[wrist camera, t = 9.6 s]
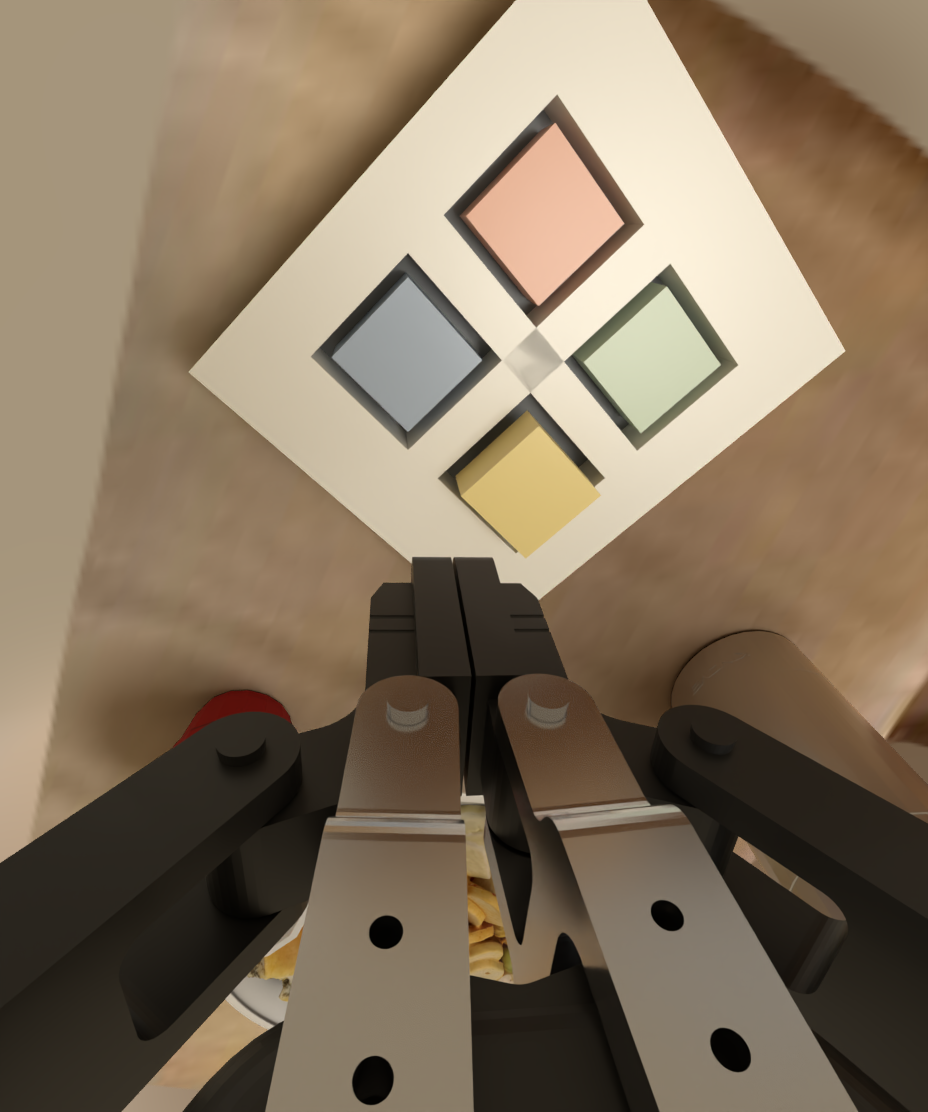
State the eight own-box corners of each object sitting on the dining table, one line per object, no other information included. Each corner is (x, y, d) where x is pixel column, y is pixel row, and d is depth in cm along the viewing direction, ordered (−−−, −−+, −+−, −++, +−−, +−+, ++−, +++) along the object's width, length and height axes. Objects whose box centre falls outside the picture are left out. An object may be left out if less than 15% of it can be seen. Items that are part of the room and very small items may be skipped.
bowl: (191, 741, 40) (152, 849, 34) (641, 728, 44) (688, 822, 38) (238, 1002, 54) (217, 1116, 48) (576, 974, 58) (602, 1075, 52)
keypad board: (792, 335, 32) (845, 351, 28) (484, 593, 37) (495, 635, 34) (562, -44, 24) (595, -91, 20) (212, 352, 29) (188, 372, 26)
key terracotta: (605, 222, 27) (624, 223, 25) (526, 299, 28) (538, 306, 26) (540, 130, 25) (555, 122, 23) (459, 215, 26) (466, 216, 24)
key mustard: (585, 475, 30) (601, 495, 28) (516, 535, 31) (525, 558, 29) (527, 410, 28) (538, 426, 26) (455, 476, 29) (460, 496, 27)
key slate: (475, 349, 29) (482, 360, 27) (406, 416, 30) (408, 432, 28) (405, 272, 27) (407, 277, 25) (335, 346, 28) (331, 357, 26)
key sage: (697, 354, 30) (720, 364, 28) (623, 418, 31) (640, 433, 29) (645, 280, 28) (667, 286, 26) (569, 351, 29) (583, 362, 27)
